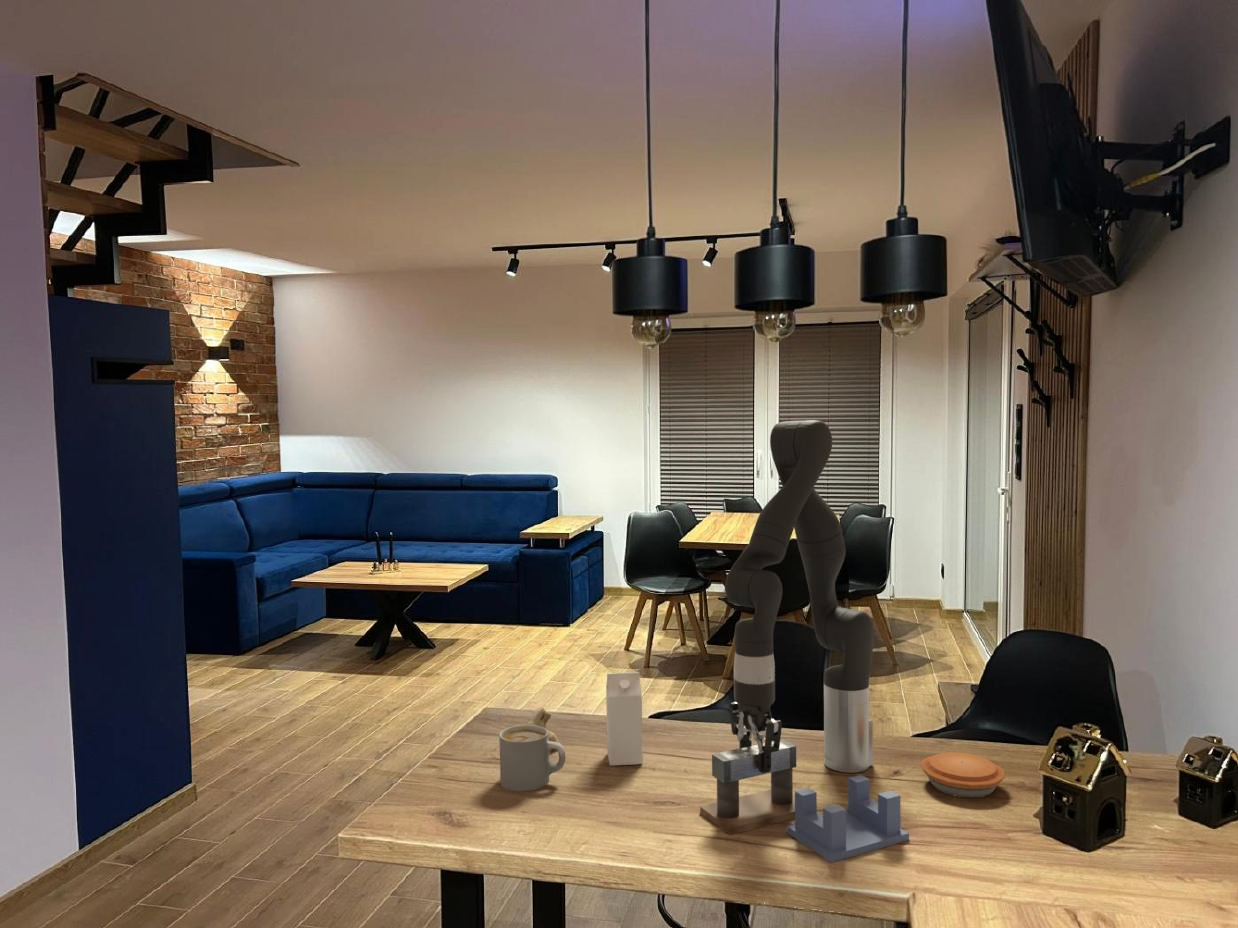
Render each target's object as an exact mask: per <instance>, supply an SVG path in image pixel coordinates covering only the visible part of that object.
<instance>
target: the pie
mask: <svg viewBox="0 0 1238 928" xmlns="http://www.w3.org/2000/svg"><path fill="white" fill-rule="evenodd" d="M920 768H921V769H922V771H923V772H924V773H925V775H926V776H927V777H928V780H929V781H930V783H931V784H932V786H933V788H935V789H936V788H937V789H938V790H937V789H936V790H937V791H939V790H940V791H939V792H941V791H942V792H941V793H943V792H944V794H946V793H947V794H946V795H949V796H952V795H956V796H960V797H959V798H962V797H971V798H970V799H974V798H973V797H981V798H984V797H983V796H986V795H988V796H990V795H991V794H992V793H993V792H994V791H995V789H996V788H997V787H998V785H1000V783H1001V782H1002V781H1003V780H1004V779H1005V773H1006V772H1005V771H1004V769H1003V768H1002V767H1001V766H999V765H998V764H995V763H993V762H992V761H991V760H989V759H987V758H985V757H982V756H979V755H975V754H970V753H964V752H950V751H949V752H941V753H937V754H933V755H931V756H928V757H925V758H923V759H922V760H921V761H920ZM956 796H955V797H956ZM986 797H987V796H986Z"/></svg>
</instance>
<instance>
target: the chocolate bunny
mask: <svg viewBox="0 0 1238 928" xmlns="http://www.w3.org/2000/svg"><path fill="white" fill-rule="evenodd" d="M551 717H552V713H551V712H549V711H547V710H546V709H545V708H543V707H542V708H541V709H540V710H538V711H537V713H536V715H535V716H534V717H533V718H532V719H531V720H530V721H529V722H527V723H526V724H525V725H536V726H541V727H543V728H545V729H547V723H548V722H549V720H550V719H551ZM547 731H548V740H549V741H551V742H557V743H560V741H559V739H558V737H557V736H556V734H555V733H554V732H552V731H550V730H547ZM560 744H561V743H560ZM555 752H557V751H556V750H555V749H551V750H550V754H552V753H555Z"/></svg>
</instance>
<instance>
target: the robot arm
mask: <svg viewBox="0 0 1238 928" xmlns="http://www.w3.org/2000/svg"><path fill="white" fill-rule="evenodd" d="M769 440H770V441H769V443H770V445H769V447H770V451H771V457H772V460H773V463H774V465H775V468H776V469H775V470H776V473H777V474H778V478H779V480H780V483H781V486H782V487H781V488H780V489H779V490H778V491H777V493H776V494H774V496H772V498H771V499H770V500H769V501H768V502H767V503H766V504H765V505H764V507H763V508H762V509H761V511H760V512H759V514H758V517H757V519H756V522H755V524H754V527H753V530H752V533H751V536H750V540H749V541H748V544H747V545H746V547H745V548H744V549H743V551H742V552H741V553H740V555H739V557H738V558H737V560H735V562H734V564H733V565H732V566H731V568H730V570H729V571H728V573H727V575H726V578H725V584H724V592H725V596H726V598H727V599H728V601H729V602H730V603H731V604H734V605H736V606H740V607H747V608H748V607H749V608H753V609H755V611H754V615H753V617H750V618H749V617H748V618H743V619H740V620H738V621H736V623H735V627H734V658H733V699H734V701H733V702H729V704H728V706H729V707H728V708H729V717H730V718H729V719H730V726H731V734H732V735H734V736H735V735H736V739H737V741H739V748H744V747H749V746H753V745H752V742H753V741H752V740H751V739H752V736H753V740H754V741H756V745H758V749H759V772H761V773H766V772H770V770H771V753H772V752H776V751H779V747H780V740H781V739H782V738H781V737H782V735H781V734H782V727H783V723H782V721H781V720H780V719H778V720H775V719H774V718H773V717H772V713H771V706H772V705H773V704H774V703H775V701H776V678H775V677H776V673H775V672H776V670H775V669H776V666H775V664H776V663H775V658H774V629H775V624H776V621H777V616H778V613H779V608H780V607H781V601H782V598H783V591H784V590H783V584H782V582H781V579H780V577H779V576H778V574H776V573H775V572H773V571H770V570H764V568H765V567H768V566H772V565H776V564H779V563H781V562H783V560H784V558H785V556H786V553H787V550H788V548H789V544H790V541H791V538H792V536H793V531H794V534H795V537H796V542H797V546H798V551H799V554H800V557H801V558H800V559H801V560H802V565H803V569H804V575H805V578H806V583H807V588H808V592H809V599H810V608H811V615H812V624H813V628H814V633H815V637H816V639H817V642H818V643H819V645H820V646H821V647H823V648H824V649H827V650H831V651H834V652H839V653H842V654H843V660H842V664H838V665H833V666H829V667H827V668H826V669H825V670H824V673H823V733H824V734H823V743H824V745H823V748H824V749H823V751H824V752H823V753H824V754H823V755H824V757H823V758H824V759H823V761H824V765H825V767H826V768H828V769H831V770H833V771H837V772H841V773H848V774H849V773H851V774H852V773H860V772H864V771H867V770H868V769H869V768H870V767H871V766H874V721H873V719H870V676H871V674H872V668H873V653H874V652H873V649H874V625H873V621H872V618H871V616H870V615H869V614H868V613H867V612H864V611H862V610H858V609H852V608H847V607H841V606H840V604H839V602H838V599H837V598H838V597H837V594H836V581H837V578H838V576H839V573H840V570H841V568H842V566H843V563H844V561H845V558H846V551H847V550H846V543H845V539H844V535H843V529H842V526H841V523H840V520H839V518H838V517H837V514H836V513H835V511H834V510H833V509H832V508H831V507H830V506H829V504H828V503H827V502H826V501H825V500H824V498H823V497H822V496H821V495H820V494H819V493H818V491H817V490H816V489H815V486H816V485H817V482H818V480H819V478H820V476H821V474H822V473H823V470H824V469H825V468H826V465H827V463H828V461H829V460H830V459H829V458H830V456H831V452H832V448H833V435H832V431H831V429H830V427H829V426H828V425H827V423H825V422H824V421H822V420H817V419H811V420H810V419H809V420H808V419H806V420H787V421H781V422H778V423H776V424H774V425H773V428H772V429H771V432H770V436H769ZM737 722H738V723H737ZM764 732H765V734H760V733H764ZM763 740H764V741H763ZM773 741H774V744H772V742H773ZM763 743H765V746H763Z"/></svg>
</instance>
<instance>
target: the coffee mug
mask: <svg viewBox="0 0 1238 928" xmlns="http://www.w3.org/2000/svg"><path fill="white" fill-rule="evenodd" d="M548 731H549V730H548V729H547V728H546V729H545V728H543V727H541V726H536V725H526V724H521V725H512V726H509V727H507V728H504V729H503V730H502V731H500V733H499V736H498V737H499V771H500V772H499V773H500V777H499V778H500V780H499V781H500V785H501V787H503V788H504V789H506V790H508V791H512V792H513V791H514V792H531V791H535V790H538V789H541V788H543V787H545V786H546V785H548V783H549V782H550V775H551V774H553V773H556V772H558V771H560V770H562V769H563V767H564V765H565V762H566V751H565V748H564V746H563V744H561V743H557V742H551V741H549V740H548ZM551 749H555V750H556V751H555V752H557V753H558V762H557V763H554V762H552V760H551V756H550V755H551V753H550V750H551Z"/></svg>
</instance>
